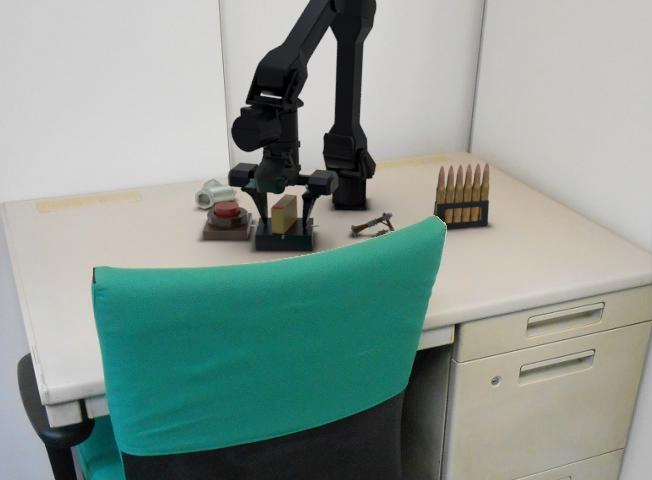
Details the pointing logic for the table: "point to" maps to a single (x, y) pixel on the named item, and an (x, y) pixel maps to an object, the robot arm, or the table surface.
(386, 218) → the wooden post with brackets
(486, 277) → the table surface
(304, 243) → the dark rectangular block base
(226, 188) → the pipe fitting
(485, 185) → the ammunition clip
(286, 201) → the olive rectangular block
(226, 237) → the button housing
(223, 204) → the button
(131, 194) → the table surface
